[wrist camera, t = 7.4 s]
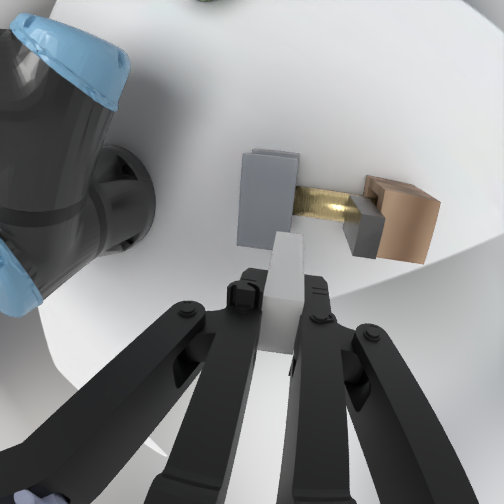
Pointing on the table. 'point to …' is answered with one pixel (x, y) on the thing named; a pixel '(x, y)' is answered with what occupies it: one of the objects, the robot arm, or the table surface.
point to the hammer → (344, 216)
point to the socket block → (403, 219)
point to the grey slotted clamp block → (266, 196)
